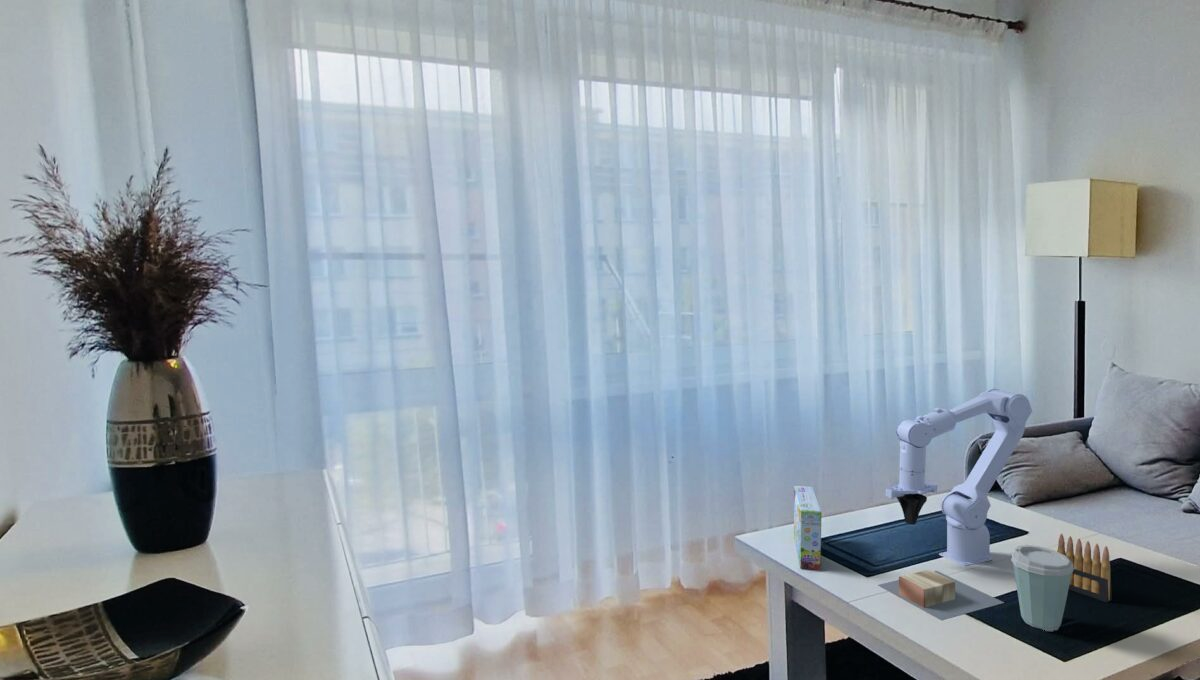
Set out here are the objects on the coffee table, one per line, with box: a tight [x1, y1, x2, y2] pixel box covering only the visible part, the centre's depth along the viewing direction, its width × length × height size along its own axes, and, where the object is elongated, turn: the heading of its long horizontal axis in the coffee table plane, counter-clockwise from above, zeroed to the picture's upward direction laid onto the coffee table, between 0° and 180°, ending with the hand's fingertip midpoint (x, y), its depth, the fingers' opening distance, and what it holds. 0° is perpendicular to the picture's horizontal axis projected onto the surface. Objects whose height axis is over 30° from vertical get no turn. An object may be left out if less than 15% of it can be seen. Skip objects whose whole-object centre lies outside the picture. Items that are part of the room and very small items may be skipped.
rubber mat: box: [877, 570, 1005, 621], centre depth 151 cm, size 18×18×1 cm
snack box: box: [793, 485, 822, 570], centre depth 176 cm, size 21×6×15 cm, turn 168°
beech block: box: [898, 569, 955, 608], centre depth 149 cm, size 4×7×9 cm
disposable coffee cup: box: [1010, 544, 1074, 632], centre depth 136 cm, size 11×11×15 cm
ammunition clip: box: [1056, 533, 1113, 603], centre depth 149 cm, size 11×2×12 cm, turn 29°
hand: (910, 523), depth 167 cm, fingers closed
